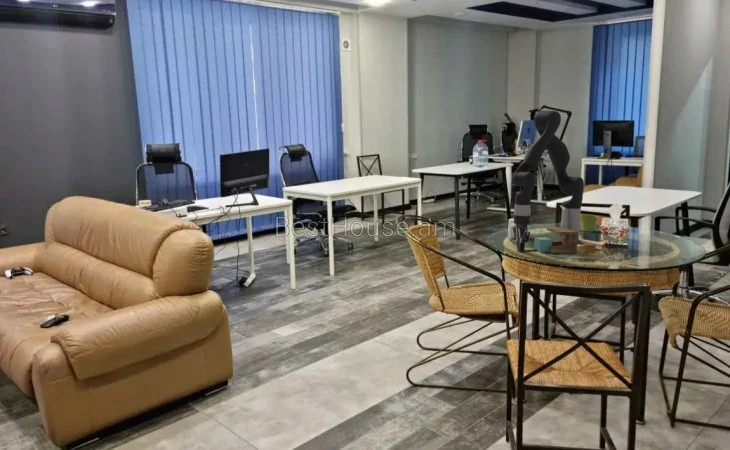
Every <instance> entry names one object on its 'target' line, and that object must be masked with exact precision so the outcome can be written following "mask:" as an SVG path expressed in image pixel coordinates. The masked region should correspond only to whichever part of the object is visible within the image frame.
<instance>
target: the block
mask: <svg viewBox="0 0 730 450" xmlns="http://www.w3.org/2000/svg"><path fill="white" fill-rule="evenodd" d="M533 240H534V241H533V249H525V250H520V238H519V237H518V249H517V248H516V249H517V252H518V253H525V252H538V253H550V246H552V241H553V239H551V238H549V237H546V236H544V237H541V236H539V237H538V236H537V237H534V239H533Z"/></svg>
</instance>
